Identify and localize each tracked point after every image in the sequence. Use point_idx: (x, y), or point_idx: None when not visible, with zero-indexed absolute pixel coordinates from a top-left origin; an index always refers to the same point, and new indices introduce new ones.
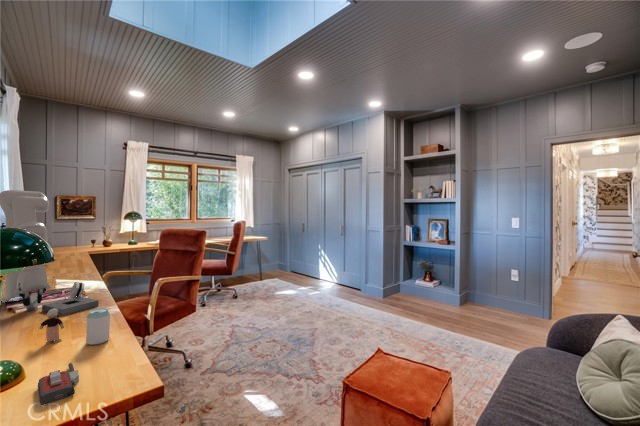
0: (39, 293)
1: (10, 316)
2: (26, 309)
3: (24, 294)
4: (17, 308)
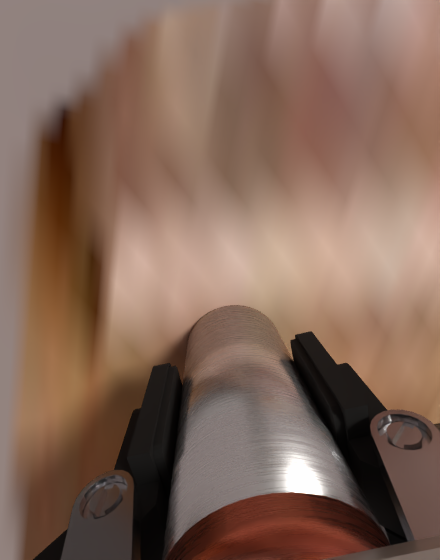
0: (389, 522)
1: (52, 438)
2: (186, 352)
3: (116, 558)
4: (136, 144)
